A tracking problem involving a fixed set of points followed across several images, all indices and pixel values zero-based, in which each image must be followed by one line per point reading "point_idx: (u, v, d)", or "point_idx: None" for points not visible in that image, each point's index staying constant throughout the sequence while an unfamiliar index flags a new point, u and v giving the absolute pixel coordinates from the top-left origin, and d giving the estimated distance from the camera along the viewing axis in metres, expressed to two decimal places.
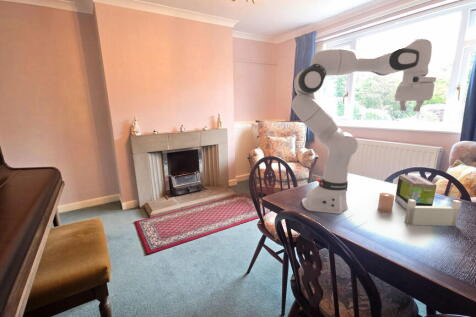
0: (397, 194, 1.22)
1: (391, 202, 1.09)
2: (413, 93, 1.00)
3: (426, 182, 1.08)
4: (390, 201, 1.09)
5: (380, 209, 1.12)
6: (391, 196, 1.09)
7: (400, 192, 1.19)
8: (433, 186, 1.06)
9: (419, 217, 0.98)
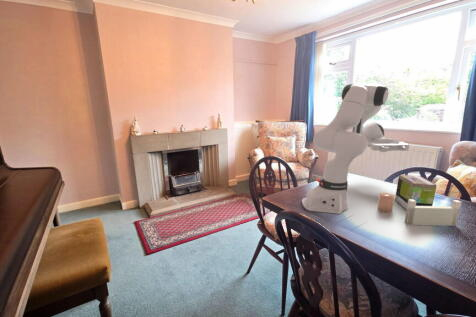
0: (397, 194, 1.22)
1: (391, 202, 1.09)
2: (395, 143, 1.36)
3: (426, 182, 1.08)
4: (390, 201, 1.09)
5: (380, 209, 1.12)
6: (391, 196, 1.09)
7: (400, 192, 1.19)
8: (433, 186, 1.06)
9: (419, 217, 0.98)
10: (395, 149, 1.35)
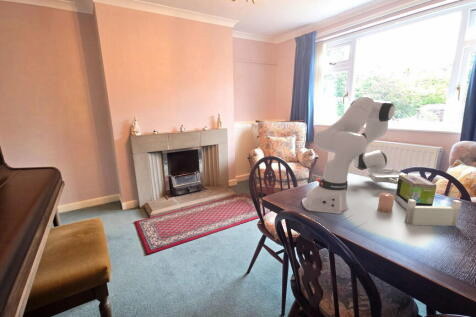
0: (397, 194, 1.22)
1: (391, 202, 1.09)
2: (396, 175, 1.35)
3: (426, 182, 1.08)
4: (390, 201, 1.09)
5: (380, 209, 1.12)
6: (391, 196, 1.09)
7: (400, 192, 1.19)
8: (433, 186, 1.06)
9: (419, 217, 0.98)
10: None
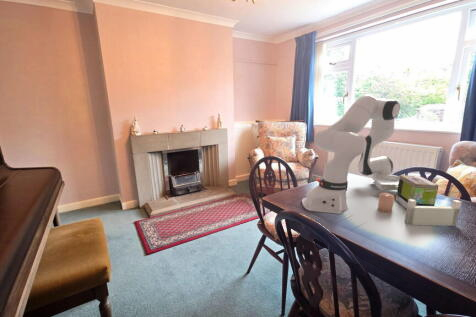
0: (398, 195, 1.21)
1: (391, 202, 1.09)
2: None
3: (428, 182, 1.08)
4: (390, 201, 1.09)
5: (380, 209, 1.12)
6: (391, 196, 1.09)
7: (401, 192, 1.18)
8: (435, 186, 1.05)
9: (419, 217, 0.98)
10: None
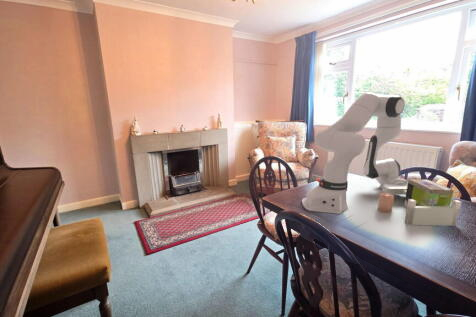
0: (407, 200, 1.14)
1: (391, 202, 1.09)
2: None
3: (442, 187, 1.01)
4: (390, 201, 1.09)
5: (380, 209, 1.12)
6: (391, 196, 1.09)
7: (411, 198, 1.11)
8: (450, 191, 0.99)
9: (419, 217, 0.98)
10: None
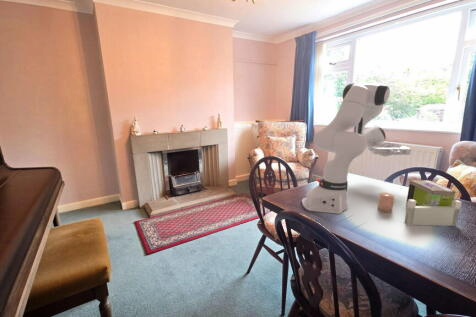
0: None
1: (391, 202, 1.09)
2: (397, 147, 1.34)
3: (443, 188, 1.00)
4: (390, 201, 1.09)
5: (380, 209, 1.12)
6: (391, 196, 1.09)
7: (413, 199, 1.10)
8: (452, 193, 0.98)
9: (419, 217, 0.98)
10: None
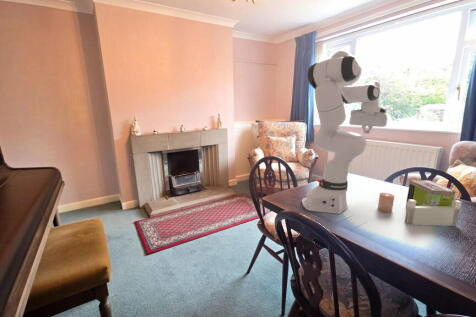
0: None
1: (391, 202, 1.09)
2: (375, 120, 1.33)
3: (443, 188, 1.00)
4: (390, 201, 1.09)
5: (380, 209, 1.12)
6: (391, 196, 1.09)
7: (413, 199, 1.10)
8: (452, 193, 0.98)
9: (419, 217, 0.98)
10: None
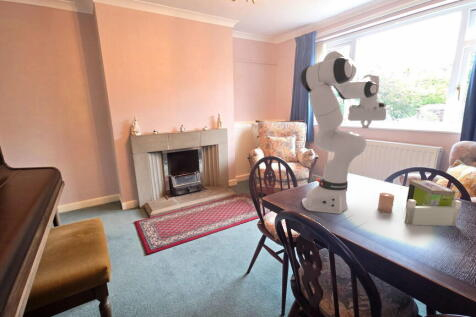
0: None
1: (391, 202, 1.09)
2: (374, 115, 1.31)
3: (443, 188, 1.00)
4: (390, 201, 1.09)
5: (380, 209, 1.12)
6: (391, 196, 1.09)
7: (413, 199, 1.10)
8: (452, 193, 0.98)
9: (419, 217, 0.98)
10: None
